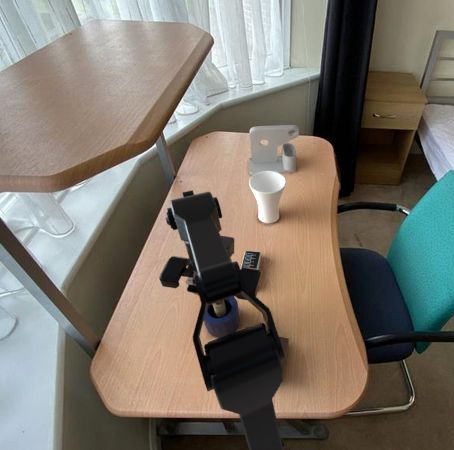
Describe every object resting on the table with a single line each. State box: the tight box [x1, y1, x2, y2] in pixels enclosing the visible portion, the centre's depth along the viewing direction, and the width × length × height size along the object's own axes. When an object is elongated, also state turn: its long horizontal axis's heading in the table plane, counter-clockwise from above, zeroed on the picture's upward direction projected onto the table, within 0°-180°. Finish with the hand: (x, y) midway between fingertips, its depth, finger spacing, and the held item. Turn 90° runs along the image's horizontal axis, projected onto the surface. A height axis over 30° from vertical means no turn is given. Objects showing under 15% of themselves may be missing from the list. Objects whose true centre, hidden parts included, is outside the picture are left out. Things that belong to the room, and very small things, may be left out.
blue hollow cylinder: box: [203, 296, 241, 339], centre depth 73 cm, size 8×8×6 cm
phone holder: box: [248, 124, 300, 176], centre depth 114 cm, size 17×10×18 cm, turn 100°
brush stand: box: [279, 336, 290, 377], centre depth 68 cm, size 8×8×4 cm
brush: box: [213, 300, 227, 318], centre depth 69 cm, size 2×2×10 cm
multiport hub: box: [240, 250, 262, 269], centre depth 85 cm, size 4×11×2 cm, turn 176°
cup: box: [248, 171, 287, 224], centre depth 96 cm, size 10×10×14 cm
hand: (217, 300), depth 69 cm, fingers closed on brush, 1 cm apart
